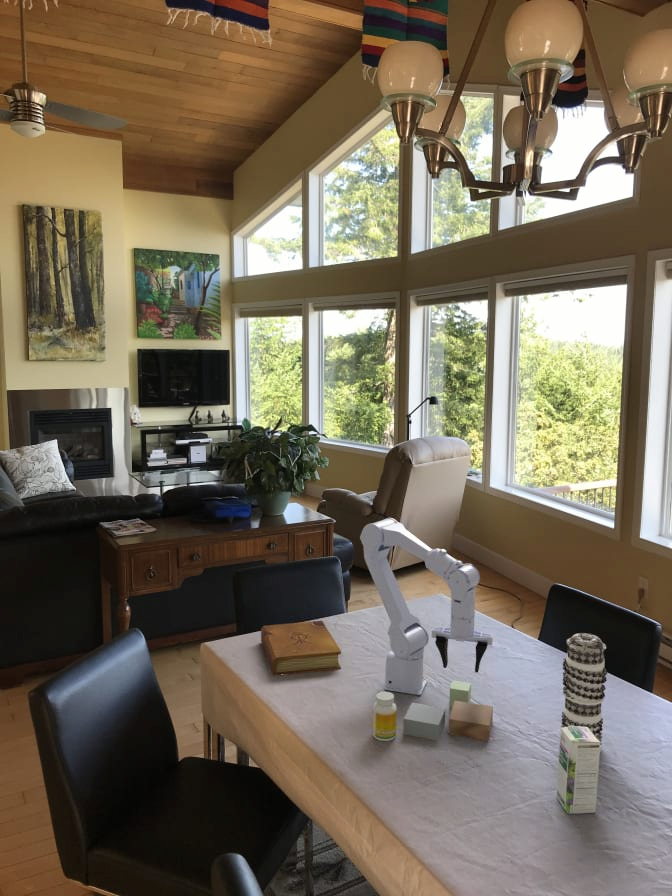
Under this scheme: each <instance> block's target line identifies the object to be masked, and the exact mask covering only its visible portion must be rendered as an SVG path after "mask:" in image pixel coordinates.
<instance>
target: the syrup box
mask: <svg viewBox="0 0 672 896" xmlns="http://www.w3.org/2000/svg"><path fill="white" fill-rule="evenodd" d="M559 735H560V736H559V737H560V738H559V751H558V762H557V763H558V765H557V766H558V767H557V782H556V799H558V801H559V802H560V804H561V806H562V808H563V810H564V811H565V812H566V813H567V815H575V814H592V813H593V814H594V813H596V811H597V799H598V784H599V769H600V768H599V767H600V754H601V752H600V746H601V745H600V741H599V740H598V739H597V738H596V736H595V735H594V734H593V733H592V731H591V730H590V729H589V728H588V727H581V726H570V727H562V728H561V727H560V734H559Z"/></svg>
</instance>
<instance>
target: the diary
mask: <svg viewBox="0 0 672 896" xmlns="http://www.w3.org/2000/svg"><path fill="white" fill-rule="evenodd" d="M260 642H261V644H262V647H263V650H264V653H265V656H266V658H267V660H268V663H269V667H270V669H271V671H272V672H271V673H272V674H273V676H274V675H279V676H282V675H281V674H288V675H295V674H294V673H298V674H305V673H306V672H307V673H315V672H323V671H324V672H325V670H326V671H333V670H341V669H342V666H341V664H340V663H339V655H341V654H342V650H341V649H340V647H339V646H338V644H337V642H336V640H335V639H334V638H333V636H332V634H331V632H330V631H329V629H328V628H327V626H326V625H325V623H324V622H323V620H313V621H304V622H292V623H280V624H270V625H263V626H262V627H261V629H260Z"/></svg>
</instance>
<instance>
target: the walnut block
mask: <svg viewBox="0 0 672 896" xmlns="http://www.w3.org/2000/svg"><path fill="white" fill-rule="evenodd" d="M493 714H494V706H492V705H487V704H486V705H485V704H481V703H480V704H479V703H473V702H470V703H467V702H461V701H454V704H453V707H452V708H451V710H450V714H449V717H448V735H452V736H458V737H464V738H470V739H475V740H482V741H488V740H490V736H491V731H492V725H493V718H494V717H493ZM488 742H489V741H488Z"/></svg>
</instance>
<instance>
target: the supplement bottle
mask: <svg viewBox="0 0 672 896" xmlns="http://www.w3.org/2000/svg"><path fill="white" fill-rule="evenodd" d="M397 710H398V708H397V705H396V703H395V695H394V694H393V693H392V692H389V691H379V692H378V693H376V695H375V702H374V704H373V705H372V731H371V732H372V736H373V738H374V739H375V740H377V741H381V742H390V741H392V740H394V739H395V738H396V736H397V718H398V717H397V713H398V712H397Z"/></svg>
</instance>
